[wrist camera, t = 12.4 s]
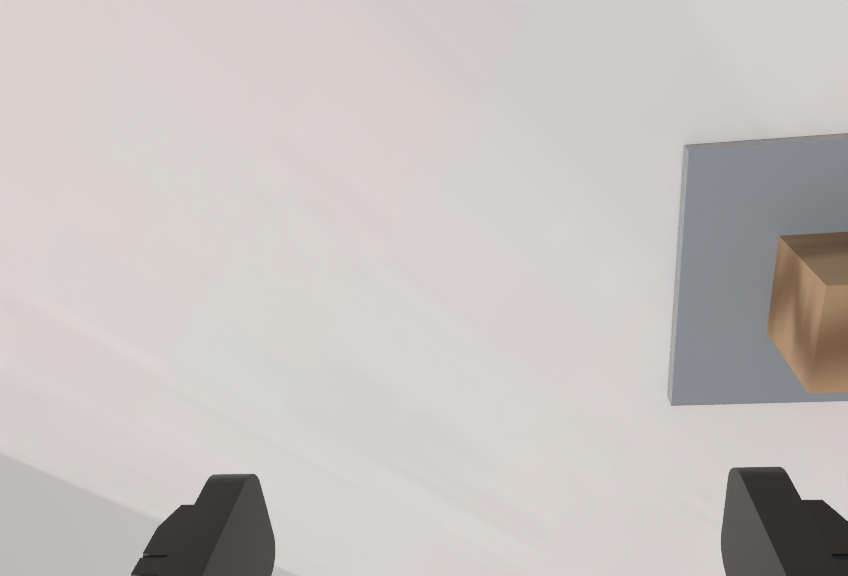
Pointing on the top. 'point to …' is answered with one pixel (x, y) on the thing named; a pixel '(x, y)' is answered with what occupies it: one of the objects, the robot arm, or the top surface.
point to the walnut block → (812, 309)
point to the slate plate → (745, 261)
